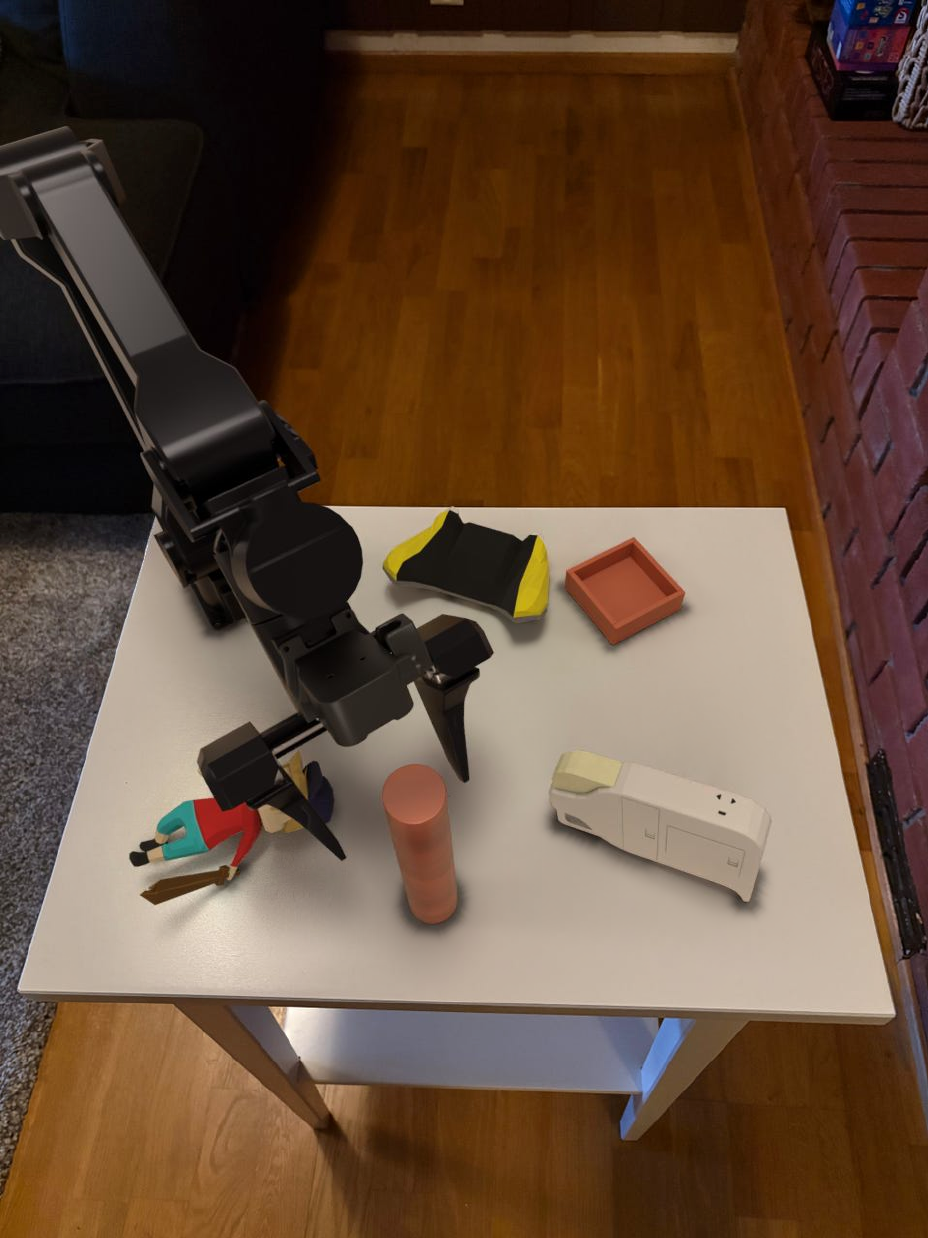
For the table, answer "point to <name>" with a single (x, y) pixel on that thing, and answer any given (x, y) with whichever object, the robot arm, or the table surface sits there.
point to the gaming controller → (475, 566)
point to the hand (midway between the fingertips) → (405, 818)
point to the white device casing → (663, 817)
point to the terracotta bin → (623, 590)
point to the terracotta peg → (422, 840)
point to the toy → (225, 831)
